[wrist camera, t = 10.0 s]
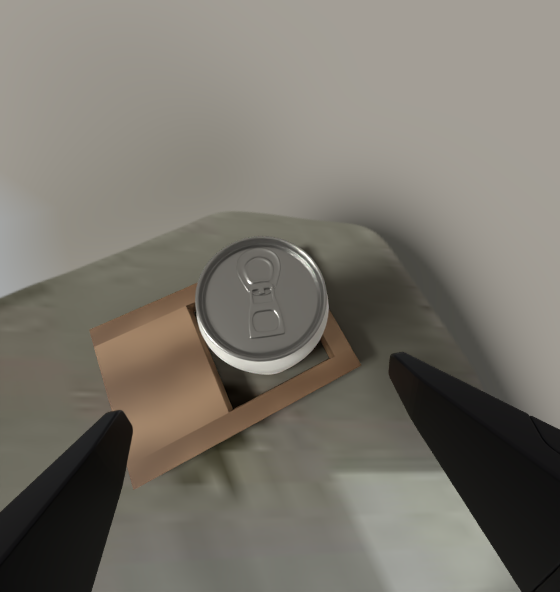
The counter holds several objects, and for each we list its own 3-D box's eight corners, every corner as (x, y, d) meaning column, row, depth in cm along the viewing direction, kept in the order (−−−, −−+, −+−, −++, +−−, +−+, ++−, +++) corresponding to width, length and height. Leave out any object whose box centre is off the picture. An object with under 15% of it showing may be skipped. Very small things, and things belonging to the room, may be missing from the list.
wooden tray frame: (353, 366, 21) (361, 365, 20) (147, 478, 19) (133, 489, 17) (289, 252, 25) (290, 242, 23) (105, 333, 22) (89, 329, 20)
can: (298, 296, 23) (321, 219, 12) (311, 368, 21) (353, 359, 10) (228, 306, 23) (181, 235, 11) (234, 380, 21) (187, 385, 10)
